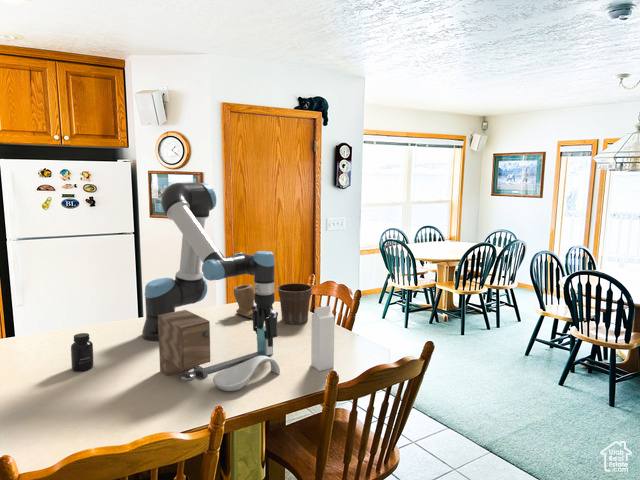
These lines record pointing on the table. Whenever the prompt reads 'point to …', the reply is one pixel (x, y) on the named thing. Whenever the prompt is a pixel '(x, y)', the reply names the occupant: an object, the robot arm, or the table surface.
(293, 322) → the plant pot
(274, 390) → the table surface
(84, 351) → the supplement bottle
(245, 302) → the brown boot
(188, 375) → the steel token
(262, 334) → the scraper
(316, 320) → the milk
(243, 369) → the spoon rest
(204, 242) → the robot arm
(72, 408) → the table surface
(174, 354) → the low cabinet
